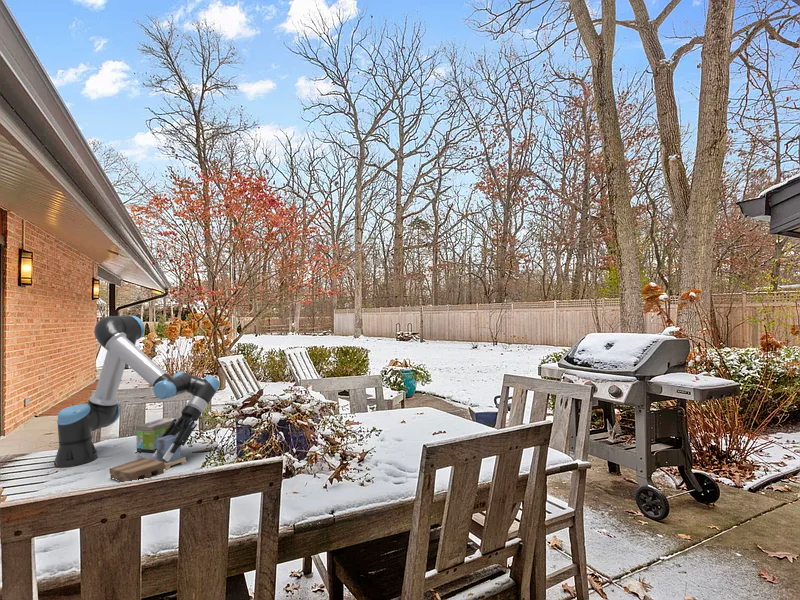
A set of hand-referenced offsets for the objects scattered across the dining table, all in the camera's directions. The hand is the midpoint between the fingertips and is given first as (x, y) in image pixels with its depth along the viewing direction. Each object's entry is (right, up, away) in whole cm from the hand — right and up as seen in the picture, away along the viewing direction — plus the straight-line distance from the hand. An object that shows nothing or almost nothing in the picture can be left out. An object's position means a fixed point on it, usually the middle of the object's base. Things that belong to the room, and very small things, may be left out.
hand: (160, 458), depth 186 cm
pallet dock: (-5, -4, -8) cm, 10 cm away
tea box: (-8, -4, +16) cm, 19 cm away
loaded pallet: (+2, -3, +3) cm, 5 cm away
